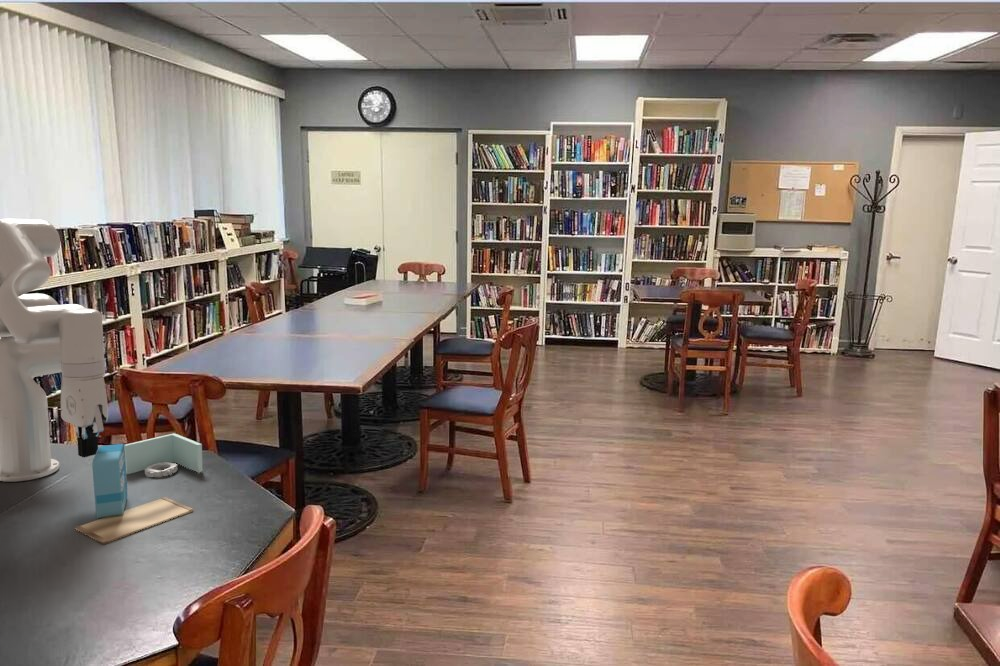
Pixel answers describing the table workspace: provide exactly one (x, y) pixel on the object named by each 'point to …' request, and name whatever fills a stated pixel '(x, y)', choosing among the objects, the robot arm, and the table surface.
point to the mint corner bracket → (163, 455)
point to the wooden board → (134, 520)
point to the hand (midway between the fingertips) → (88, 454)
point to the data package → (110, 480)
